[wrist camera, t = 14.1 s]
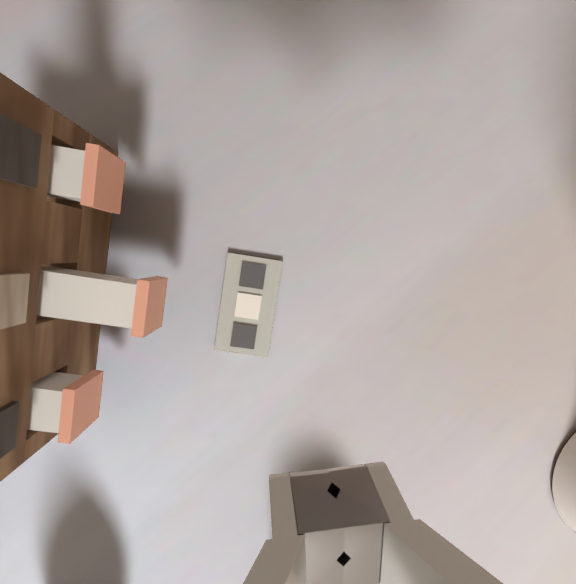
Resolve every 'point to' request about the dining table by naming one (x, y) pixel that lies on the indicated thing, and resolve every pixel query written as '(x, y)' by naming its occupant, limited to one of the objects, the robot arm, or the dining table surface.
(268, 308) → the card
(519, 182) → the dining table surface
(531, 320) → the dining table surface
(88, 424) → the button far
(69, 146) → the console
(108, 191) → the button near
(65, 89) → the dining table surface
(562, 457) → the robot arm
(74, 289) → the button middle
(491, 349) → the dining table surface
